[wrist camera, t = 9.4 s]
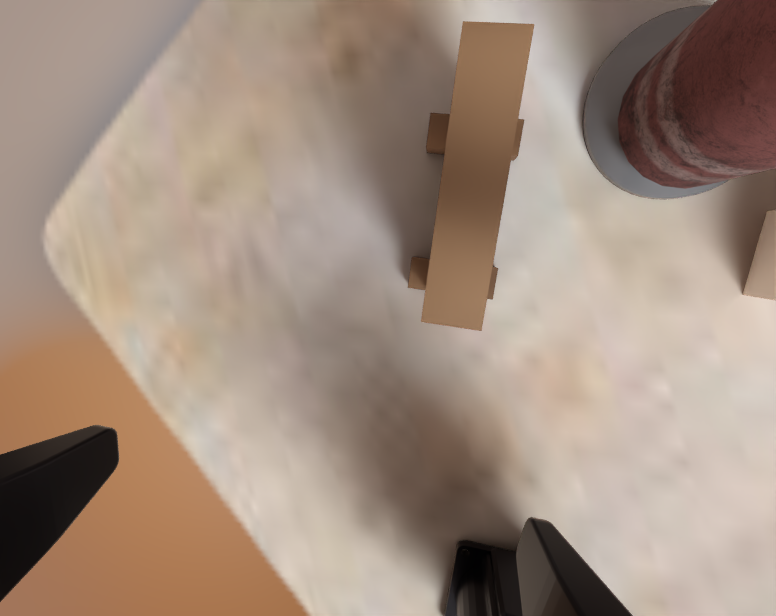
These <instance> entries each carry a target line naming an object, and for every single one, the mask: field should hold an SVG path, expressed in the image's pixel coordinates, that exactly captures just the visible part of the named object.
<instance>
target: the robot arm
mask: <svg viewBox="0 0 776 616" xmlns="http://www.w3.org/2000/svg"><path fill="white" fill-rule="evenodd" d="M117 439H118V438H117V432H116V431H115V429H113V428H110V427H104V426H100V425H93V426H90V427H87V428H83V429H80V430H77V431H74V432H71V433H68V434H65V435H61V436H58V437H55V438H52V439H49V440H45V441H42V442H39V443H36V444H33V445H29V446H26V447H23V448H20V449H17V450H14V451H10V452H7V453H4V454H1V455H0V602H1V601H2V600H3V599H4V597H5V596H6V595H7V594H8V593H9V592H10V591H11V590H12V589H13V588H14V587H15V586H16V584H18V583H19V582H20V580H21V579H22V578H23V577H24V576H25V575H26V574H27V573H28V572H29V571H30V570H31V569H32V568H33V566H35V564H36V563H37V562H38V561H39V560H40V559H41V558H42V557H43V556H44V555H45V554H46V553H47V552H48V551H49V549H50V548H51V547H52V546H53V545H54V544H55V543H56V542H57V541H58V540H59V538H60V537H61V536H62V535H63V534H64V532H65V531H66V530H67V529H68V528H69V526H70V525H71V524H72V523H73V521H74V520H75V519H76V518H77V517H78V515H79V514H80V513H81V511H82V510H83V509H84V508H85V507H86V505H87V504H88V503H89V502H90V500H91V499H92V498H93V497H94V495H95V494H96V493H97V492H98V491H99V489H100V488H101V487H102V485H103V484H104V483H105V482H106V481H107V479H108V478H109V477H110V476H111V474H112V473H113V472H114V470H115V469H116V467H117V465H118V462H119V451H118V440H117ZM463 549H467V550H468V551H463ZM444 616H633V615H632V614H631V613H630V612H629V611H628V610H627V609H626V607H625V606H624V605H623V604H622V603H621V602H620V601H619V600H618V598H617V597H616V596H615V595H614V594H613V593H612V592H611V590H610V589H609V588H608V587H607V586H606V585H605V584H604V582H603V581H602V580H601V579H600V578H599V577H598V576H597V574H596V573H595V572H594V571H593V570H592V569H591V568H590V567H589V565H588V564H587V563H586V562H585V561H584V560H583V559H582V557H581V556H580V555H579V554H578V553H577V552H576V551H575V549H574V548H573V547H572V546H571V545H570V544H569V543H568V541H567V540H566V539H565V538H564V537H563V536H562V535H561V533H560V532H559V531H558V530H557V529H556V528H555V527H554V526H553V524H551V523H550V522H549V521H547V520H542V519H538V518H533V517H531V518H528V519H527V521H526V523H525V525H524V528H523V531H522V534H521V537H520V540H519V543H518V546H517V552H515V551H510V550H506V549H501V548H497V547H493V546H488V545H484V544H479V543H475V542H471V541H466V540H462V541H460V542H458V544H457V546H456V552H455V557H454V563H453V568H452V574H451V580H450V585H449V591H448V596H447V602H446V607H445V613H444Z"/></svg>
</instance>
